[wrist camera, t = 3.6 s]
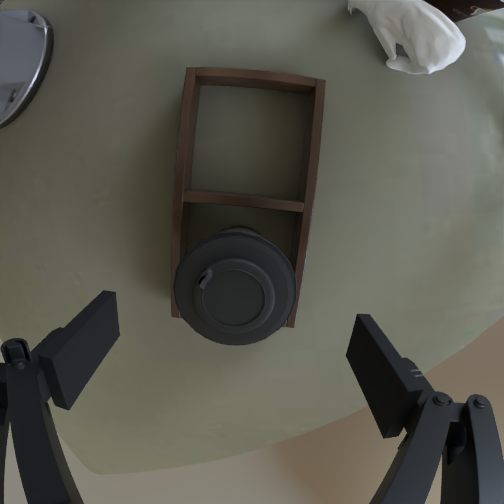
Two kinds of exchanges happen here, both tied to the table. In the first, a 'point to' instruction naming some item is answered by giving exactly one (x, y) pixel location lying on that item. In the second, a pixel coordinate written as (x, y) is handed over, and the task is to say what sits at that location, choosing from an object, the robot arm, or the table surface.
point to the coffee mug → (465, 7)
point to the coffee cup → (235, 287)
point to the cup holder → (300, 205)
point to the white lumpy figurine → (413, 34)
